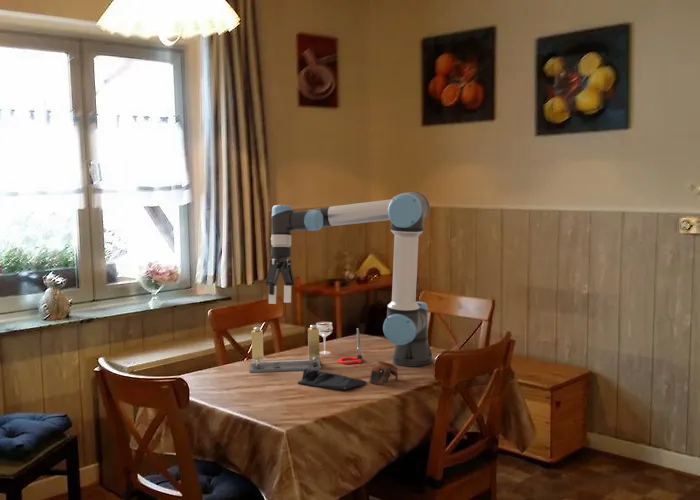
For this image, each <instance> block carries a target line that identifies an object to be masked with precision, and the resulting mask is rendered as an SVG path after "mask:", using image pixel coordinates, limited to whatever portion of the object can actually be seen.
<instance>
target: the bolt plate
mask: <svg viewBox="0 0 700 500" xmlns="http://www.w3.org/2000/svg"><path fill="white" fill-rule="evenodd" d="M307 342H308V343H307V345H308V350H307V351H308V358H300V359H297V358H296V359H295V358H294V359H280V360H279V359H278V360H277V359H275V360H273V359H272V360H263V363H259V366H256V363H252V360H251V361H250V362H249V363H250V364H249V373H272V372H275V373H276V372H295V371H297V372H298V371H304V369H306V368H308V369H315V370H320V371H321V363H320V361H321V359H320V358H321V356H320V355H321V354H320V352H321V351H320V335H319V328H317V325H316V324H310V326H309V327H308V328H307Z"/></svg>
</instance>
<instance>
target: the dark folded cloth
mask: <svg viewBox="0 0 700 500" xmlns="http://www.w3.org/2000/svg"><path fill="white" fill-rule="evenodd" d="M302 371H303V372H302V378H301V380H299V381H297V384H299V385H305V386H308V387H316V388H324V389H329V390H330V389H331V390H336V391H337V390H338V391H346V390H350V389H352V388H357V387H362V386H365V385H366V384H368V382H367V381H366V380H363V379H359V378H354V377H349V376H346V375H342V374H339V373H334V372H330V371H326V370H321V369H320V370H315V369H308V368H306V369H304V370H302Z"/></svg>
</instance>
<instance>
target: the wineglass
mask: <svg viewBox="0 0 700 500" xmlns="http://www.w3.org/2000/svg"><path fill="white" fill-rule="evenodd" d="M315 325H317V328H319V336H321V338H323V350H322V351H319V352H320V355H329V354H331V353H332V352H331V351H330V350H329V351H328V350H326V338H327V337H328V336H330V335H331V334H332V333H333V330H334V328H333V322H331V321H319V322H316V323H315Z"/></svg>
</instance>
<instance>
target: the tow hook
mask: <svg viewBox="0 0 700 500" xmlns="http://www.w3.org/2000/svg"><path fill="white" fill-rule="evenodd" d="M356 342H357V343H356V347H357V348H356V352H357V356H344V357H343V356H342V357H340V358H339V359H337V363H338V364H341V365H351V364H362V361H363V354H362V348H361V334H360V329H359V328H356Z"/></svg>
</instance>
